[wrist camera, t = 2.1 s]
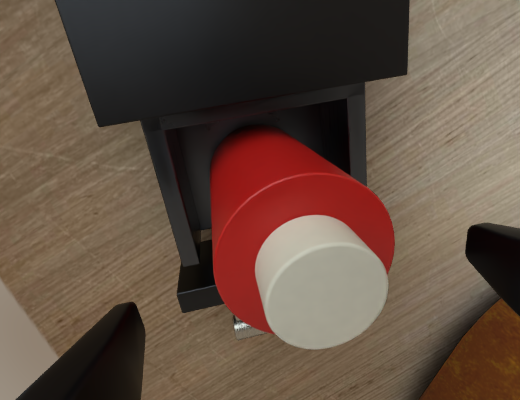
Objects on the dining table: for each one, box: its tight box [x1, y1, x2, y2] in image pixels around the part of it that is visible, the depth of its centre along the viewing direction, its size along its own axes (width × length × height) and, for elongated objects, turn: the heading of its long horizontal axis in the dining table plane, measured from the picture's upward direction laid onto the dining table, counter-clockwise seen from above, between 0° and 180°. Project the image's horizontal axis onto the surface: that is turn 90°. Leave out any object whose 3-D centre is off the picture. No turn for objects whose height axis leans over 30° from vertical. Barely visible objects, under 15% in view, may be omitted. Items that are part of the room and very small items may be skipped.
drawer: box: [140, 82, 367, 340], centre depth 17 cm, size 14×10×5 cm
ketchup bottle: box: [210, 124, 395, 349], centre depth 12 cm, size 5×5×11 cm
